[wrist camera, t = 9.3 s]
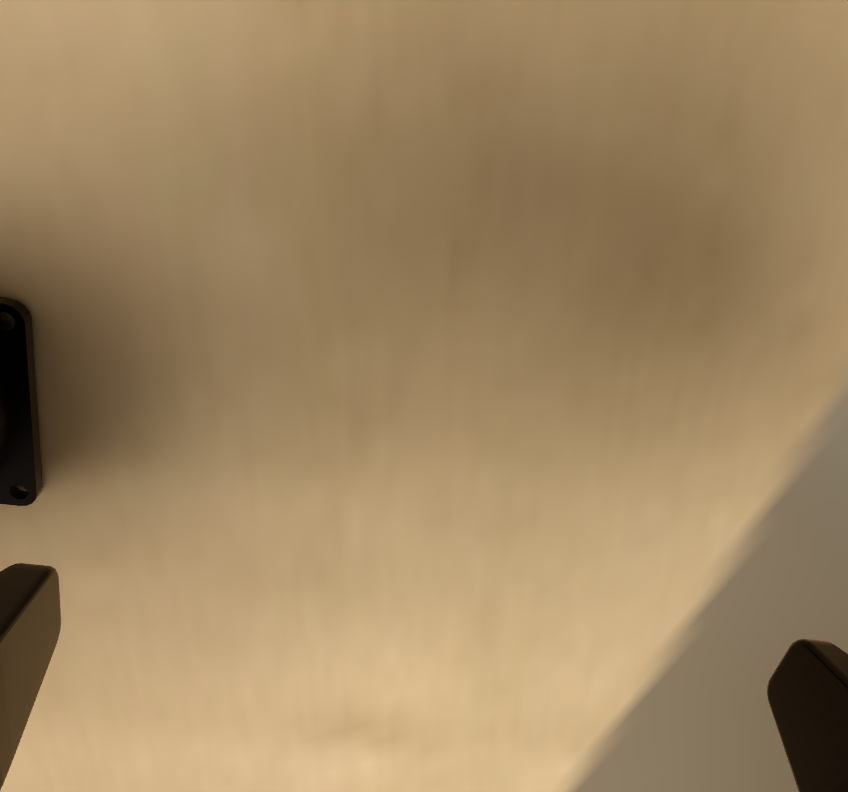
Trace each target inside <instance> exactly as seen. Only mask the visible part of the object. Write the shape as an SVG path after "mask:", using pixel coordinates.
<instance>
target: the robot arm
mask: <svg viewBox="0 0 848 792" xmlns="http://www.w3.org/2000/svg"><path fill="white" fill-rule="evenodd" d="M2 312H4V313H7V314H9V315H11V316H12V317H13V318H14V321H15V325H11V324H8V323H7V322H5V321H4V320H3V318H2V315H1V313H2ZM16 485H19V486H22V487H24V488H25V489H26V490H27V491H22V490H20V489H19V488H18V487H17V486H16ZM41 491H42V472H41V456H40V440H39V425H38V409H37V393H36V377H35V362H34V346H33V330H32V318H31V314H30V312H29V310H28V309H27V308H26V306H25V305H23V304H22V303H20V302H19V301H17V300H14V299H11V298H4V297H0V504H8V505H17V506H27V505H29V504H32V503H33V502H34V501H35V500H36V498H37V497H38V495H39V494H40V493H41ZM60 627H61V611H60V593H59V577H58V573H57V571H56V569H54V568H53V567H51V566H44V565H33V564H23V563H19V564H14V565H12V566H9V567H7V568H6V569H4V570H3V571H1V572H0V790H1V788H2V785H3V783H4V781H5V778H6V776H7V773H8V771H9V768H10V766H11V763H12V761H13V758H14V755H15V753H16V750H17V747H18V745H19V742H20V739H21V737H22V734H23V732H24V729H25V726H26V724H27V721H28V718H29V716H30V713H31V710H32V708H33V705H34V702H35V700H36V697H37V694H38V692H39V689H40V686H41V684H42V681H43V679H44V676H45V673H46V671H47V668H48V665H49V663H50V660H51V657H52V655H53V652H54V649H55V647H56V644H57V641H58V637H59V633H60ZM767 695H768V701H769V704H770V707H771V710H772V713H773V716H774V719H775V722H776V725H777V728H778V731H779V734H780V737H781V740H782V743H783V746H784V748H785V752H786V755H787V758H788V761H789V763H790V766H791V769H792V772H793V775H794V778H795V781H796V784H797V787H798V790H799V792H848V654H847V653H845V652H844V651H842V650H841V649H840V648H838V647H837V646H835V645H834V644H832V643H829V642H826V641H819V640H807V639H800V640H797V641H795V642H794V643H792V645H791V646H790V647H789V649H788V650H787V652H786V654H785V655H784V657H783V658H782V660H781V662H780V663H779V665H778V667H777V668H776V670H775V672H774V673H773V675H772V676H771V678H770V680H769V682H768V686H767Z"/></svg>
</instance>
